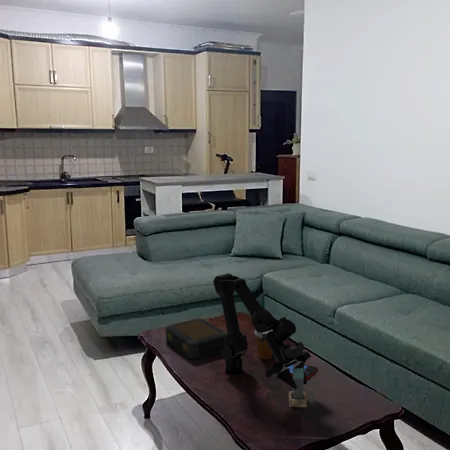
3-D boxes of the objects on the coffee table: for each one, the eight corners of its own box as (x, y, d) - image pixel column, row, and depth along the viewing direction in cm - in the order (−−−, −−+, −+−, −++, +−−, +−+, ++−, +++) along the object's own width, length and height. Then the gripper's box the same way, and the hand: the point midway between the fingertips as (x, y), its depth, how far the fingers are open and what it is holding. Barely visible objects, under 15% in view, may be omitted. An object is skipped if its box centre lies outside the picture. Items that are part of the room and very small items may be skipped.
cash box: (231, 349, 221) (231, 333, 219) (191, 361, 210) (191, 344, 208) (202, 331, 241) (201, 316, 240) (164, 341, 230) (164, 325, 229)
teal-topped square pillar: (293, 404, 173) (293, 372, 171) (292, 399, 177) (293, 368, 175) (303, 405, 173) (303, 373, 171) (302, 400, 176) (302, 368, 174)
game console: (318, 370, 201) (318, 364, 201) (306, 383, 191) (306, 377, 190) (285, 362, 209) (285, 357, 208) (272, 374, 198) (272, 369, 197)
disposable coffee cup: (251, 359, 211) (251, 332, 208) (258, 350, 219) (258, 324, 217) (273, 362, 207) (273, 335, 205) (279, 353, 216) (279, 327, 214)
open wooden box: (289, 408, 172) (289, 400, 172) (288, 399, 178) (288, 391, 178) (307, 408, 172) (307, 400, 171) (305, 399, 178) (305, 391, 177)
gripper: (271, 343, 168) (296, 386, 162) (307, 329, 180) (331, 368, 174) (255, 358, 175) (278, 399, 169) (290, 343, 187) (313, 381, 181)
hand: (301, 386), depth 173 cm, fingers closed on teal-topped square pillar, 5 cm apart
